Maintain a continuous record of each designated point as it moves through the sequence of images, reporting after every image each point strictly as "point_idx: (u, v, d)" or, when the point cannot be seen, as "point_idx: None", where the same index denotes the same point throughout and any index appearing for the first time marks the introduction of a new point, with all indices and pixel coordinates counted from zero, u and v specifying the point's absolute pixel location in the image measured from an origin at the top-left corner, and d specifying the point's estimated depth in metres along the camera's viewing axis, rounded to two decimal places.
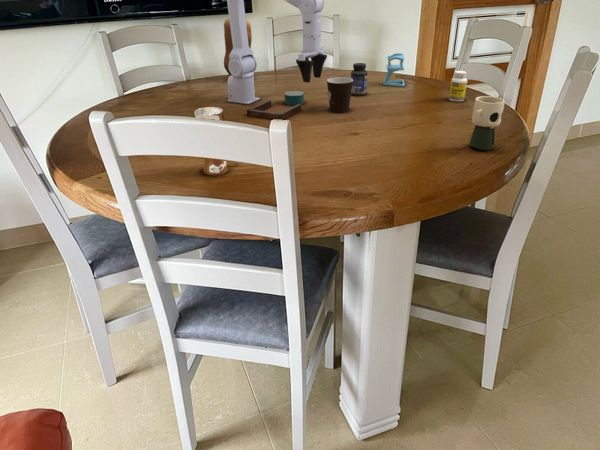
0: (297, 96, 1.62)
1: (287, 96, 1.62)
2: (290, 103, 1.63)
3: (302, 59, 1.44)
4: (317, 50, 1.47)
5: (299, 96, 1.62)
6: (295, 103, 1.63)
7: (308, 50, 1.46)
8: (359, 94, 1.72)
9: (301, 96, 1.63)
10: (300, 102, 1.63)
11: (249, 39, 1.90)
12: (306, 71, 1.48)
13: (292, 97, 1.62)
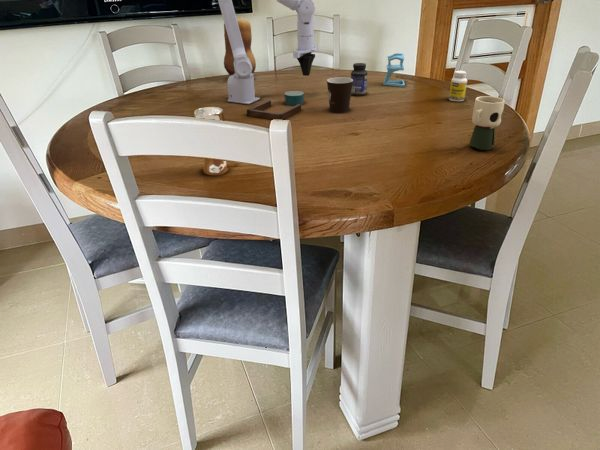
0: (297, 96, 1.62)
1: (287, 96, 1.62)
2: (290, 103, 1.63)
3: (297, 56, 1.59)
4: (310, 48, 1.62)
5: (299, 96, 1.62)
6: (295, 103, 1.63)
7: (302, 48, 1.62)
8: (359, 94, 1.72)
9: (301, 96, 1.63)
10: (300, 102, 1.63)
11: (249, 39, 1.90)
12: (305, 65, 1.66)
13: (292, 97, 1.62)
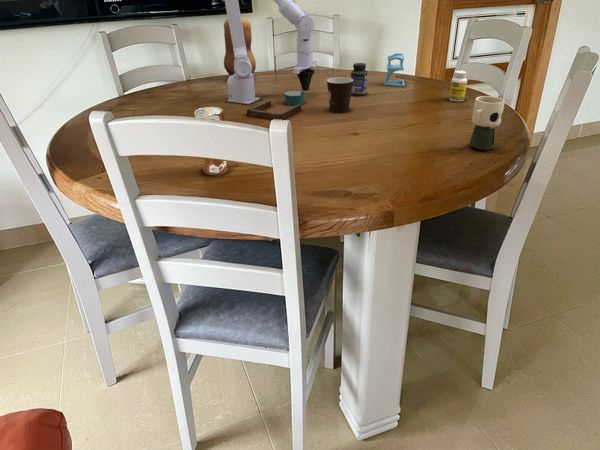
0: (297, 96, 1.62)
1: (287, 96, 1.62)
2: (290, 103, 1.63)
3: (296, 72, 1.62)
4: (310, 64, 1.64)
5: (299, 96, 1.62)
6: (295, 103, 1.63)
7: (302, 64, 1.64)
8: (359, 94, 1.72)
9: (301, 96, 1.63)
10: (300, 102, 1.63)
11: (249, 39, 1.90)
12: (305, 81, 1.69)
13: (292, 97, 1.62)
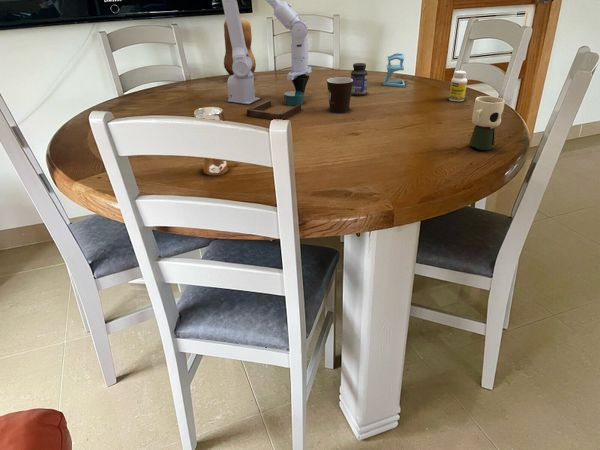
0: (297, 96, 1.61)
1: (287, 96, 1.62)
2: (290, 103, 1.63)
3: (291, 78, 1.59)
4: (304, 70, 1.62)
5: (299, 96, 1.62)
6: (295, 103, 1.62)
7: (296, 70, 1.62)
8: (359, 94, 1.72)
9: (301, 96, 1.62)
10: (300, 102, 1.63)
11: (249, 39, 1.90)
12: (299, 87, 1.66)
13: (292, 97, 1.61)
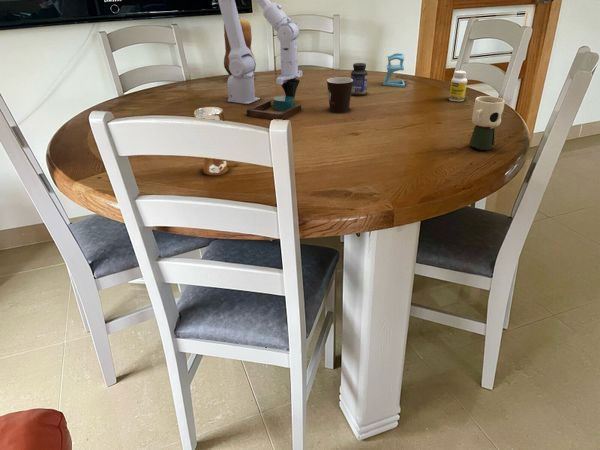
0: (286, 101, 1.56)
1: (276, 101, 1.57)
2: (279, 108, 1.57)
3: (280, 83, 1.54)
4: (294, 74, 1.57)
5: (288, 101, 1.56)
6: (284, 108, 1.57)
7: (286, 74, 1.56)
8: (359, 94, 1.72)
9: (290, 101, 1.57)
10: (289, 107, 1.58)
11: (249, 39, 1.90)
12: (289, 91, 1.61)
13: (281, 102, 1.56)
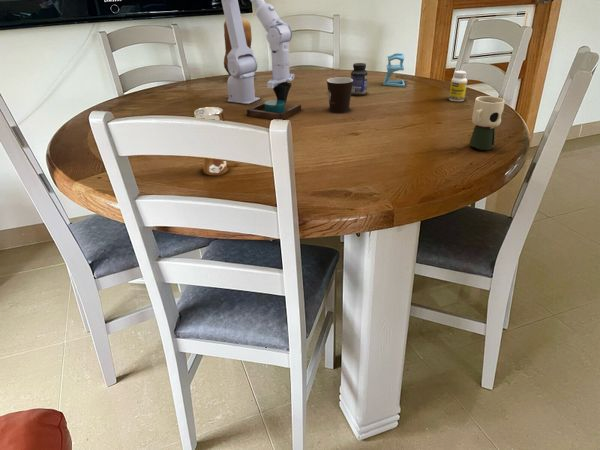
0: (277, 105, 1.52)
1: (267, 105, 1.52)
2: None
3: (271, 87, 1.49)
4: (286, 78, 1.52)
5: (280, 105, 1.52)
6: None
7: (277, 78, 1.52)
8: (359, 94, 1.72)
9: (282, 105, 1.53)
10: (281, 112, 1.53)
11: (249, 39, 1.90)
12: (281, 95, 1.57)
13: (272, 106, 1.52)
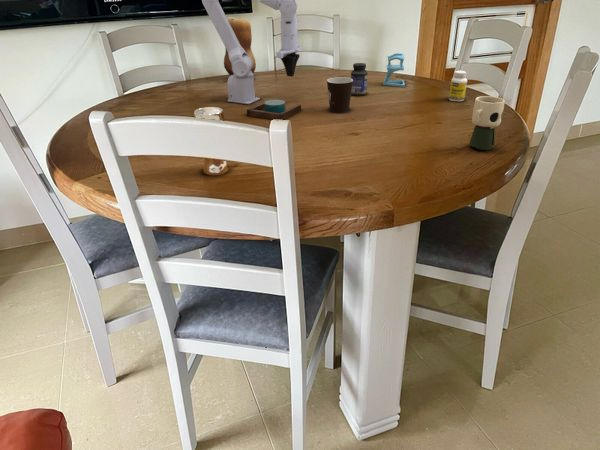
0: (277, 105, 1.52)
1: (267, 105, 1.52)
2: None
3: (280, 56, 1.55)
4: (294, 48, 1.58)
5: (280, 105, 1.52)
6: None
7: (286, 48, 1.58)
8: (359, 94, 1.72)
9: (282, 105, 1.53)
10: (281, 112, 1.53)
11: (249, 39, 1.90)
12: (289, 66, 1.62)
13: (272, 107, 1.52)
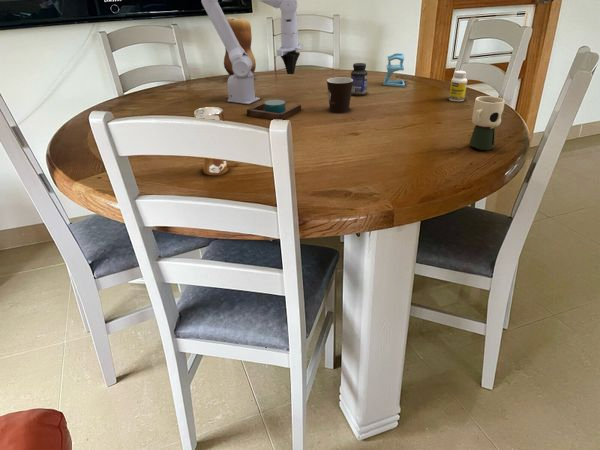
0: (277, 105, 1.52)
1: (267, 105, 1.52)
2: None
3: (280, 54, 1.55)
4: (294, 46, 1.58)
5: (280, 105, 1.52)
6: None
7: (286, 46, 1.58)
8: (359, 94, 1.72)
9: (282, 105, 1.53)
10: (281, 112, 1.53)
11: (249, 39, 1.90)
12: (289, 64, 1.62)
13: (272, 107, 1.52)
